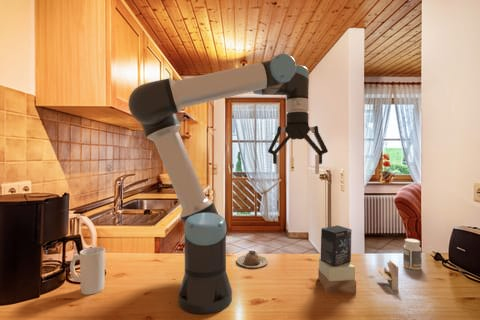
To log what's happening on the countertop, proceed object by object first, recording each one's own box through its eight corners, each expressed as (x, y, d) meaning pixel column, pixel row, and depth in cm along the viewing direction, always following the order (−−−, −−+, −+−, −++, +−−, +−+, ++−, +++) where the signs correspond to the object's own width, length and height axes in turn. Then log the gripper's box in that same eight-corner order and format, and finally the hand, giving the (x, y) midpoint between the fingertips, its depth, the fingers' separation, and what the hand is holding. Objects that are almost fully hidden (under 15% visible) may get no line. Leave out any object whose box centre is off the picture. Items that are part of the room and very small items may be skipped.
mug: (109, 284, 85) (109, 246, 85) (98, 295, 78) (98, 254, 78) (77, 284, 85) (76, 246, 85) (63, 295, 78) (63, 254, 78)
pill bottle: (421, 266, 100) (421, 239, 100) (421, 271, 95) (422, 243, 95) (403, 262, 103) (403, 237, 103) (403, 268, 98) (403, 241, 98)
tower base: (325, 293, 81) (325, 280, 81) (318, 279, 90) (318, 267, 90) (356, 294, 80) (356, 280, 80) (345, 280, 89) (345, 268, 89)
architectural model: (386, 291, 82) (386, 266, 82) (377, 280, 89) (377, 258, 89) (398, 291, 82) (398, 267, 82) (388, 281, 89) (388, 258, 89)
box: (334, 267, 80) (335, 232, 80) (320, 261, 85) (320, 227, 85) (351, 262, 84) (352, 228, 84) (336, 256, 89) (337, 224, 89)
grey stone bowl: (230, 263, 103) (230, 251, 103) (252, 255, 112) (252, 244, 112) (252, 273, 95) (252, 260, 95) (274, 263, 103) (274, 251, 103)
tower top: (329, 281, 80) (329, 267, 80) (318, 269, 88) (319, 257, 88) (354, 279, 81) (355, 266, 81) (342, 268, 89) (342, 256, 89)
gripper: (261, 111, 91) (261, 174, 91) (337, 110, 88) (336, 174, 89) (261, 114, 98) (261, 172, 98) (331, 113, 96) (331, 173, 96)
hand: (297, 173), depth 93 cm, fingers open, 13 cm apart
